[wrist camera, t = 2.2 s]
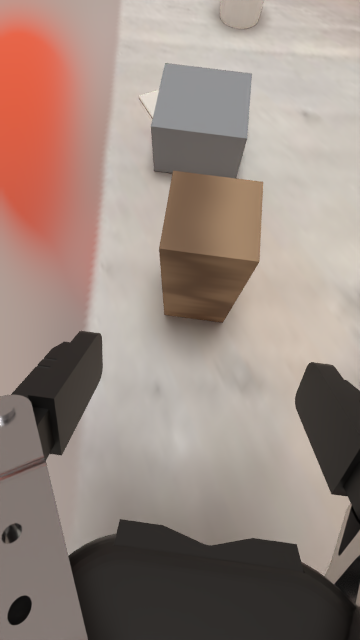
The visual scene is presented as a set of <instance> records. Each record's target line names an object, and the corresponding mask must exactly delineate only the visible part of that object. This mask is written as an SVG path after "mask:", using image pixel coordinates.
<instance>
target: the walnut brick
mask: <svg viewBox="0 0 360 640" xmlns="http://www.w3.org/2000/svg"><path fill="white" fill-rule="evenodd" d="M262 195H263V182H259V181H251V180H243V179H236V178H228V177H220V176H212V175H204V174H196V173H189V172H181V171H173V174H172V180H171V185H170V191H169V197H168V202H167V208H166V213H165V219H164V225H163V230H162V236H161V241H160V247H159V252H160V265H161V278H162V290H163V303H164V315H170V316H177V317H185V318H192V319H200V320H207V321H214V322H222V323H223V321H224V320H225V318H226V316H227V315H228V313H229V311H230V310H231V308H232V306H233V305H234V303H235V301H236V300H237V298H238V296H239V295H240V293H241V291H242V290H243V288H244V286H245V285H246V283H247V281H248V280H249V278H250V276H251V275H252V273H253V271H254V270H255V268H256V266H257V265H258V263H259V258H260V237H261V216H262Z"/></svg>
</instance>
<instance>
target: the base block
mask: <svg viewBox="0 0 360 640" xmlns="http://www.w3.org/2000/svg"><path fill="white" fill-rule="evenodd" d="M251 79H252V74H251V73H243V72H234V71H226V70H218V69H210V68H202V67H194V66H185V65H177V64H169V63H165V66H164V71H163V75H162V79H161V84H160V88H159V93H158V97H157V102H156V106H155V111H154V115H153V119H152V124H151V134H152V147H153V161H154V171H160V172H168V173H173V171H181V172H189V173H196V174H204V175H212V176H220V177H228V178H236V176H237V172H238V169H239V165H240V162H241V158H242V155H243V151H244V148H245V144H246V140H247V132H248V119H249V106H250V93H251Z"/></svg>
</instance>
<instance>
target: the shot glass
mask: <svg viewBox="0 0 360 640" xmlns="http://www.w3.org/2000/svg"><path fill="white" fill-rule="evenodd" d="M263 3H264V0H221V2H220V19H221V20H222V21H223V23H225V24H226V25H228V26H229V27H233V28H237V29H246V28H250V27H253V26H254V25H256V24H257V22H258V20H259V17H260V13H261V10H262V6H263Z"/></svg>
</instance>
